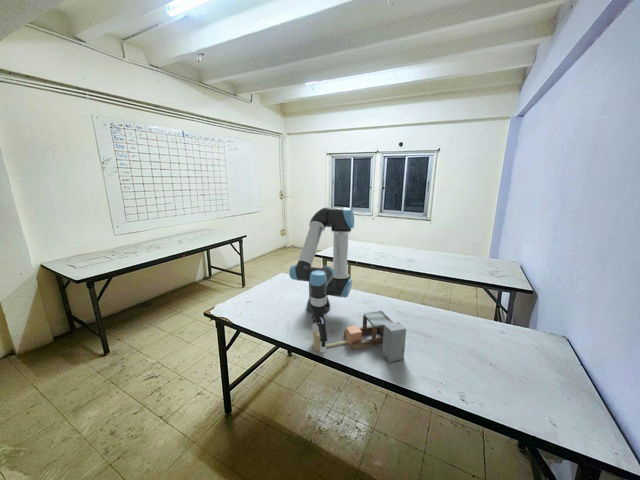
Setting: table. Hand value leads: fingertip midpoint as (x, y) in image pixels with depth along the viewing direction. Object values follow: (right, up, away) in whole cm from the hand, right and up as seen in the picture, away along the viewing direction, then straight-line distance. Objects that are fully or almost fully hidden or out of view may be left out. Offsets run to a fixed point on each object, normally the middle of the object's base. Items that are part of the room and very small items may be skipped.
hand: (319, 342), depth 124 cm
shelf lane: (+24, -1, +7) cm, 26 cm away
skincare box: (+35, -5, -5) cm, 36 cm away
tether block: (+9, -3, +3) cm, 10 cm away
